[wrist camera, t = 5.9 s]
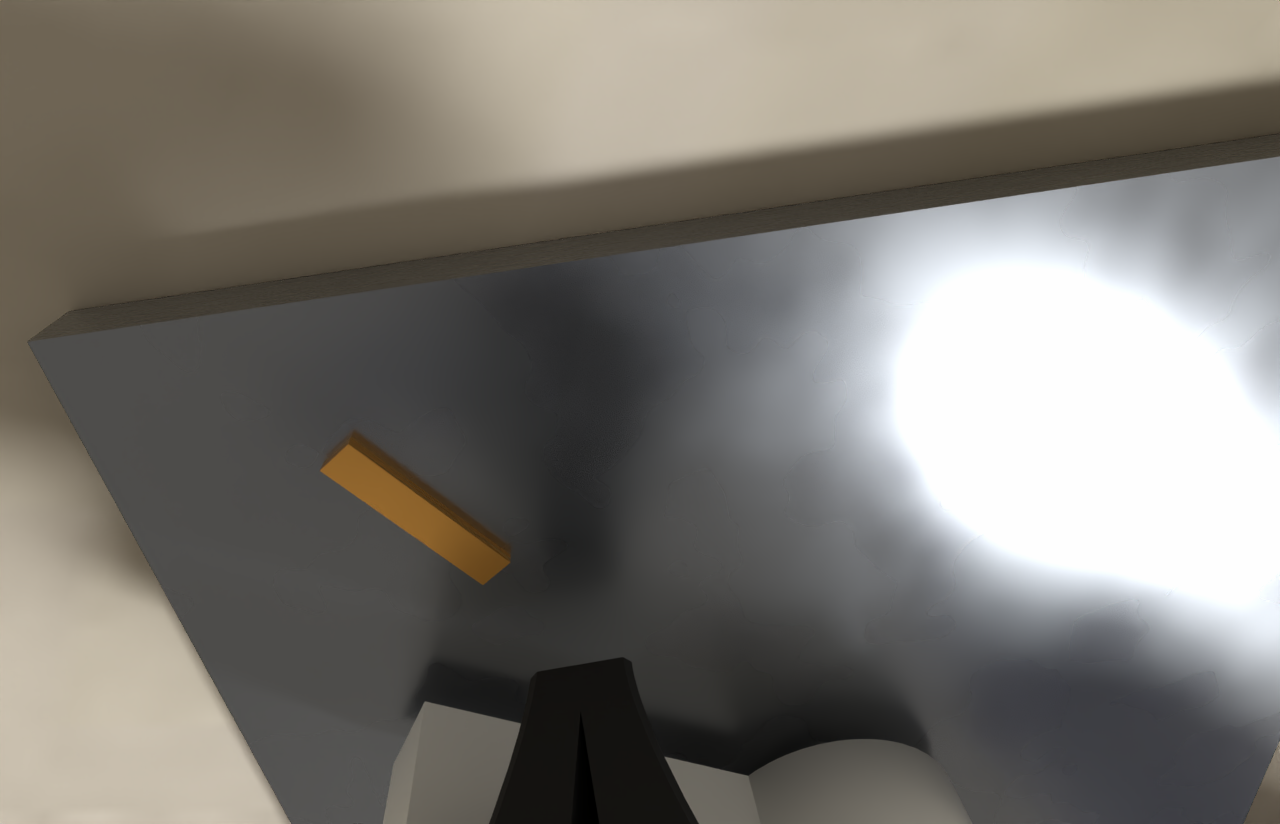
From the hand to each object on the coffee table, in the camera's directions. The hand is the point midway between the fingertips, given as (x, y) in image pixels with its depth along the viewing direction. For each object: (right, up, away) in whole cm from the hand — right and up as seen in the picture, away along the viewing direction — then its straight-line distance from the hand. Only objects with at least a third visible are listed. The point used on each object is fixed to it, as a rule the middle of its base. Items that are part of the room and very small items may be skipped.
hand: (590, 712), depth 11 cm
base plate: (+4, -1, +5) cm, 6 cm away
